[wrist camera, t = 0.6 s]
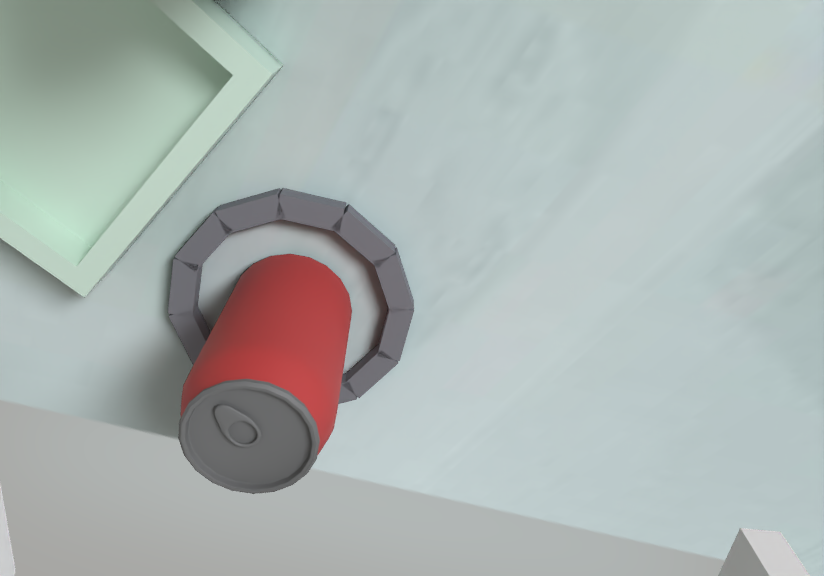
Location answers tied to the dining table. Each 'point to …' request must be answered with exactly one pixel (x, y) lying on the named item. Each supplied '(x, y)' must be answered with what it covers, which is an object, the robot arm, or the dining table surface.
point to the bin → (111, 119)
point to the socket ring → (312, 214)
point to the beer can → (268, 377)
